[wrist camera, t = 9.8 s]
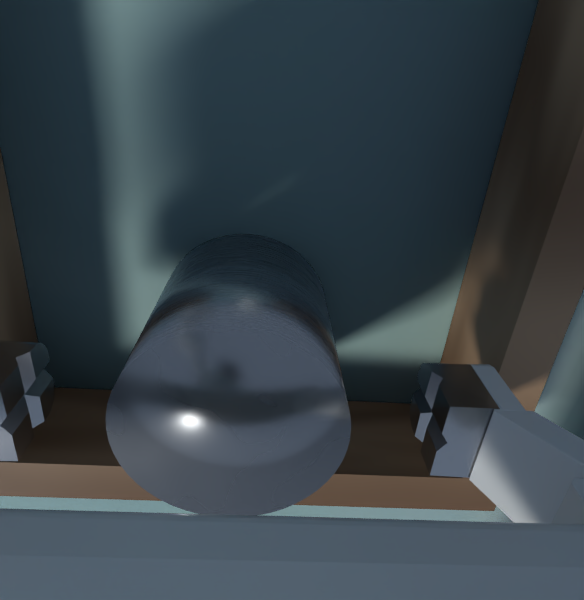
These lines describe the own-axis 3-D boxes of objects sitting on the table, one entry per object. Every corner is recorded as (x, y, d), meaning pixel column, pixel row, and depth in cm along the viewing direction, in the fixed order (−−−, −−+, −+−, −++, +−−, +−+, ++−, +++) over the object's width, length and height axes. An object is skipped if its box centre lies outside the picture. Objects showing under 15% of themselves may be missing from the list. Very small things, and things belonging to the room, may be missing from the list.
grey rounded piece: (160, 228, 12) (91, 321, 8) (334, 239, 12) (368, 336, 8) (167, 372, 14) (117, 514, 10) (317, 379, 14) (335, 520, 10)
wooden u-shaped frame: (-204, -481, 7) (-512, -834, 4) (700, -338, 8) (922, -551, 5) (13, 415, 15) (-46, 494, 12) (456, 434, 15) (493, 510, 13)
